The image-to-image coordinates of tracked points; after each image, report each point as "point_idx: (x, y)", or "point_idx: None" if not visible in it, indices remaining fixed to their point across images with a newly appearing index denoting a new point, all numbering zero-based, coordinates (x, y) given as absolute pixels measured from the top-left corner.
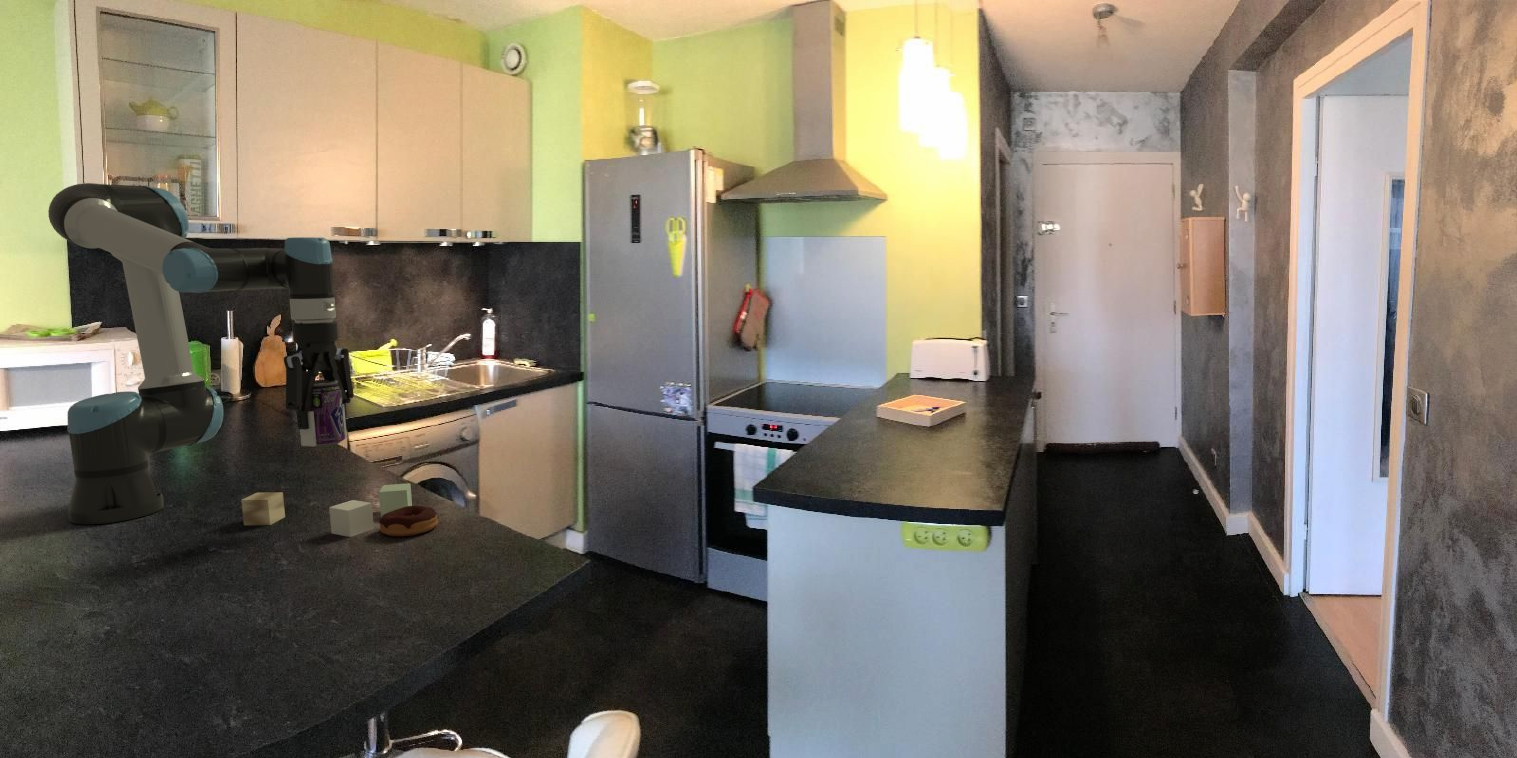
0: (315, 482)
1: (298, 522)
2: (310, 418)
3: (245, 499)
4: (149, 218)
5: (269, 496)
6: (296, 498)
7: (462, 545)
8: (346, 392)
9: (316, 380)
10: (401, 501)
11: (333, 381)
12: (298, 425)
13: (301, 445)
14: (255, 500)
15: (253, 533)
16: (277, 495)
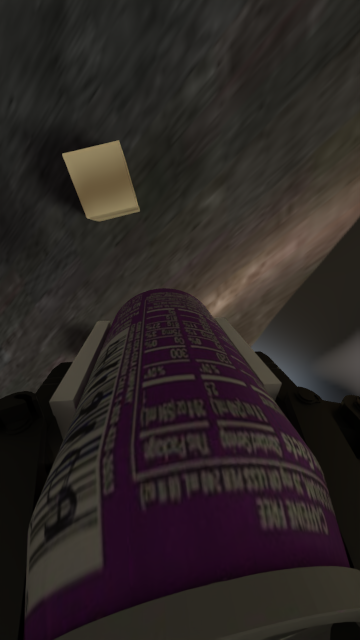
0: (343, 79)
1: (124, 256)
2: None
3: (68, 161)
4: None
5: (105, 201)
6: (235, 137)
7: None
8: (356, 451)
9: (338, 622)
10: None
11: (313, 629)
12: (51, 375)
13: (97, 321)
14: (76, 190)
15: (58, 228)
16: (119, 210)
